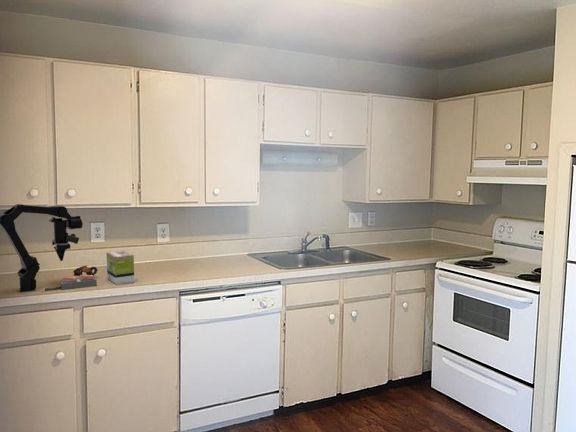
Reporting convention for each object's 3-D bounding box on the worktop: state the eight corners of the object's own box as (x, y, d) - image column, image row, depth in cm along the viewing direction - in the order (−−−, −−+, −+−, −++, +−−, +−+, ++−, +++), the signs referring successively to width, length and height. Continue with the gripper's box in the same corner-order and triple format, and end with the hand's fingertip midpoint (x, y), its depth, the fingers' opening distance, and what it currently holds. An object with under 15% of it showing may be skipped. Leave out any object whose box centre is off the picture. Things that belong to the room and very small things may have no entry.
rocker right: (80, 277, 234) (81, 275, 234) (79, 276, 237) (80, 274, 237) (93, 278, 238) (93, 276, 238) (92, 277, 240) (92, 275, 240)
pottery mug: (80, 283, 245) (73, 269, 245) (76, 287, 252) (69, 274, 252) (102, 273, 253) (95, 260, 253) (97, 278, 260) (91, 265, 260)
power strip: (45, 291, 225) (45, 285, 224) (44, 289, 230) (44, 282, 229) (96, 285, 237) (96, 279, 237) (94, 283, 242) (94, 277, 242)
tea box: (106, 279, 251) (105, 252, 250) (125, 276, 258) (124, 250, 256) (115, 284, 240) (114, 256, 238) (135, 282, 246) (134, 254, 244)
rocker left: (63, 279, 230) (63, 277, 230) (62, 278, 232) (62, 276, 232) (76, 280, 233) (76, 278, 233) (75, 279, 236) (75, 277, 236)
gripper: (80, 231, 234) (81, 262, 236) (74, 227, 250) (75, 256, 251) (56, 232, 228) (57, 264, 230) (51, 228, 244) (52, 258, 245)
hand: (61, 260), depth 239 cm, fingers closed
